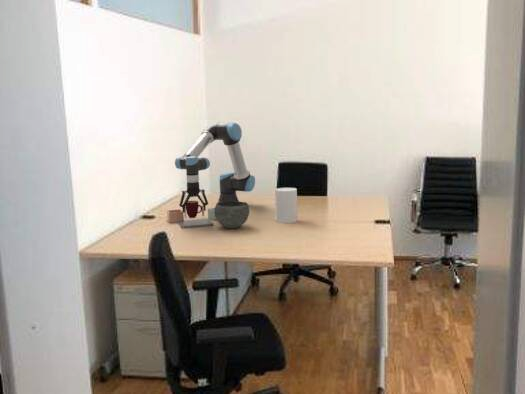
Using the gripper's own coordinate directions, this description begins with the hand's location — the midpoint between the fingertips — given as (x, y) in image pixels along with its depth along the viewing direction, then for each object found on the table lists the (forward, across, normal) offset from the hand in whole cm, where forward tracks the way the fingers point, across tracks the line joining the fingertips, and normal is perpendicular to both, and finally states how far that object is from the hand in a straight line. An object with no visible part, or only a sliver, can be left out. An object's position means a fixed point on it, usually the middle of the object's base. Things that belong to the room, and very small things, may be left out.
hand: (194, 216), depth 362 cm
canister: (+5, -56, +13) cm, 58 cm away
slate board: (+5, 0, 0) cm, 5 cm away
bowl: (+5, -20, +18) cm, 27 cm away
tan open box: (+5, +10, -12) cm, 16 cm away
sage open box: (+5, -16, -8) cm, 19 cm away
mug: (+1, 0, 0) cm, 1 cm away
